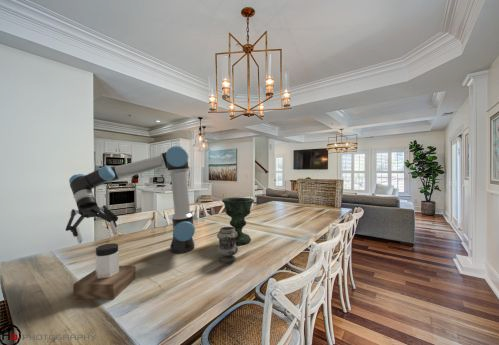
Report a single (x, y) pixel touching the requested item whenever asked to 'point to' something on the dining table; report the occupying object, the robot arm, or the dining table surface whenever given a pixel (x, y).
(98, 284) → the walnut block
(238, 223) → the goblet
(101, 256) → the jar
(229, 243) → the apothecary jar
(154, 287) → the dining table surface
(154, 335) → the dining table surface
